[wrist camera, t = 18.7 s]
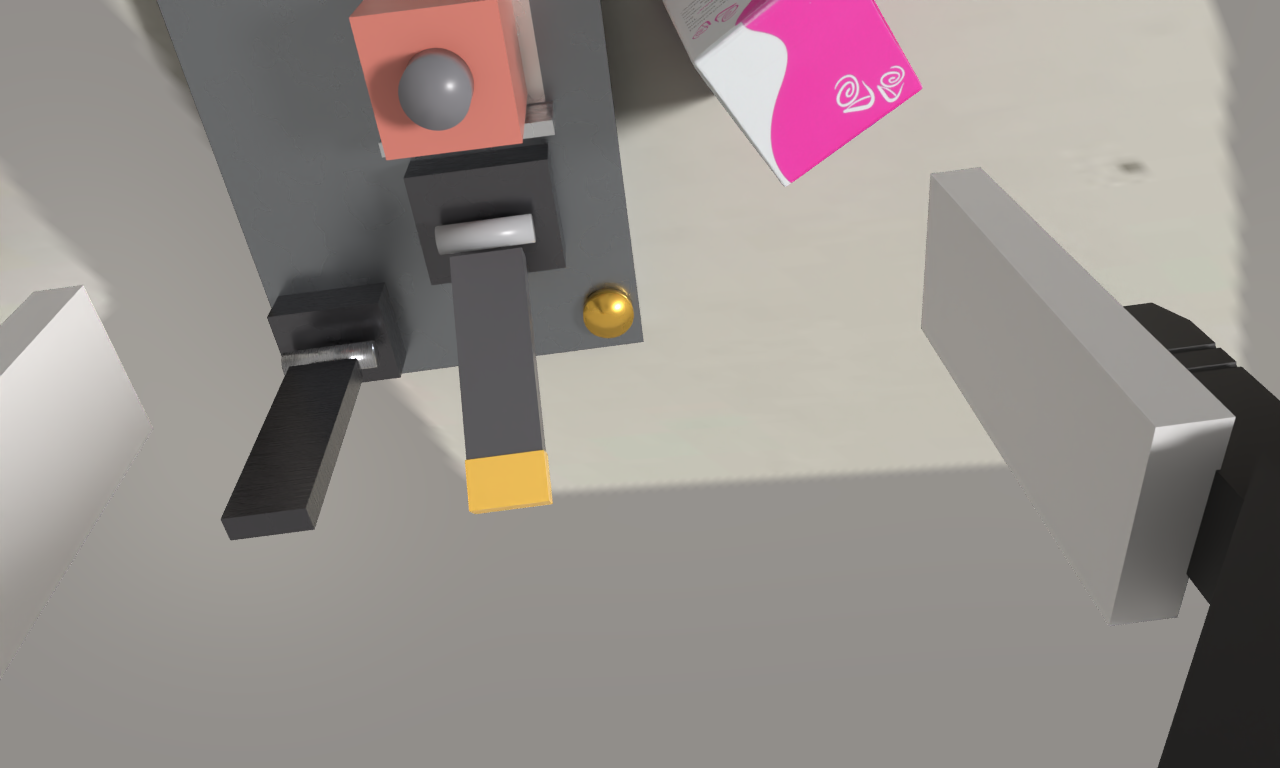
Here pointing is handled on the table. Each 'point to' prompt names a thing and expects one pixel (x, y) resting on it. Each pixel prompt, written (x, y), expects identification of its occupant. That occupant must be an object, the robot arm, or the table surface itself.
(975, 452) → the table surface
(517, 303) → the switch lever
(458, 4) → the cap
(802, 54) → the supplement box
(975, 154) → the table surface
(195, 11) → the metal switch board
